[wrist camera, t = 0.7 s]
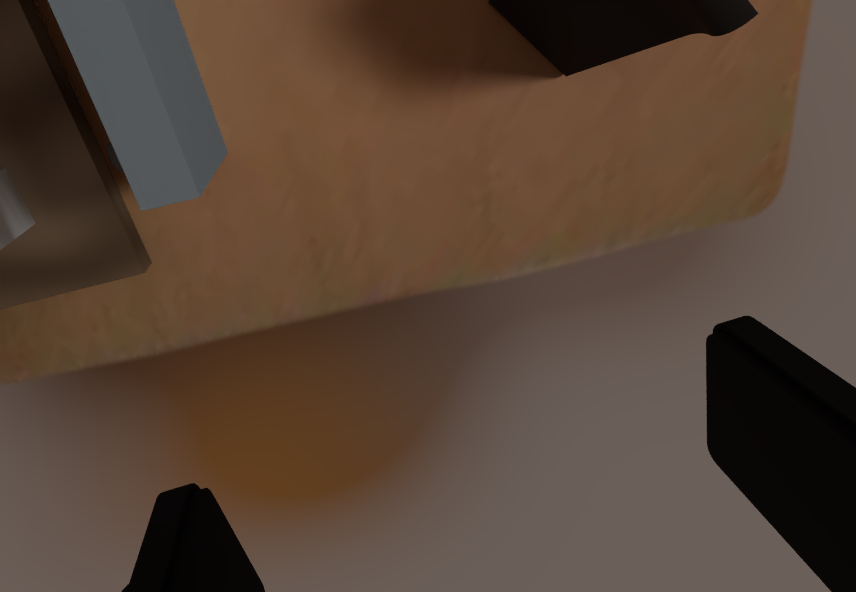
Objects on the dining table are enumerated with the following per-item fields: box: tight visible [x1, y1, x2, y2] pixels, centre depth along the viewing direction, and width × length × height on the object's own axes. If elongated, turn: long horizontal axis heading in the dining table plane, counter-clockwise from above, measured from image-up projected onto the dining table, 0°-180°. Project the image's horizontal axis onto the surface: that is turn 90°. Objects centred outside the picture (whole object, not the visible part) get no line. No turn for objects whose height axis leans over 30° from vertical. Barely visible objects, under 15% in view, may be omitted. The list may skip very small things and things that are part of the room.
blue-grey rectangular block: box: [48, 0, 228, 211], centre depth 25 cm, size 14×3×9 cm, turn 11°
